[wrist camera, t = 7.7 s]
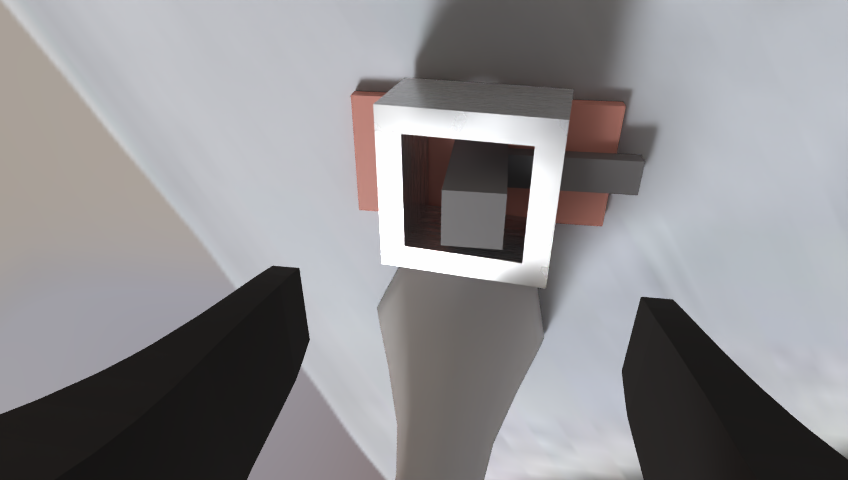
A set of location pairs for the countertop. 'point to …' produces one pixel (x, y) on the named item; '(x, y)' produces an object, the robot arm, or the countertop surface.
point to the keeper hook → (508, 173)
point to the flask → (454, 366)
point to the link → (479, 121)
